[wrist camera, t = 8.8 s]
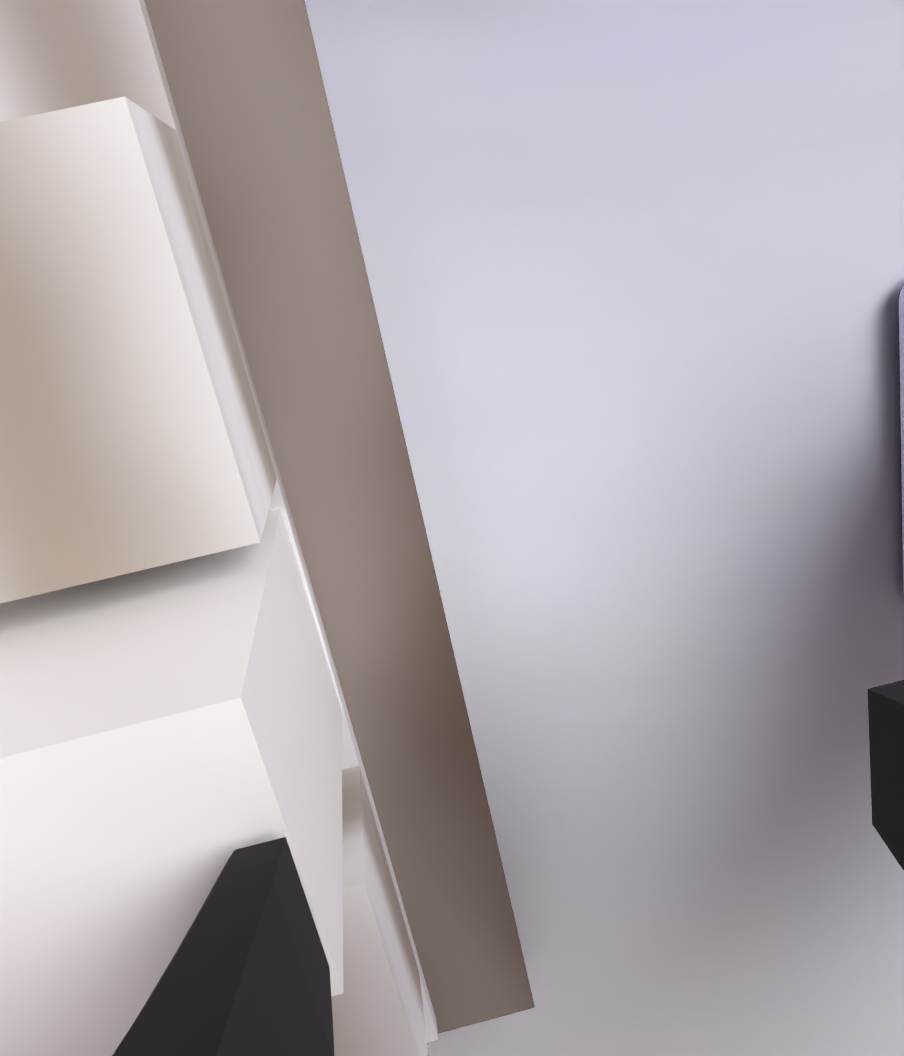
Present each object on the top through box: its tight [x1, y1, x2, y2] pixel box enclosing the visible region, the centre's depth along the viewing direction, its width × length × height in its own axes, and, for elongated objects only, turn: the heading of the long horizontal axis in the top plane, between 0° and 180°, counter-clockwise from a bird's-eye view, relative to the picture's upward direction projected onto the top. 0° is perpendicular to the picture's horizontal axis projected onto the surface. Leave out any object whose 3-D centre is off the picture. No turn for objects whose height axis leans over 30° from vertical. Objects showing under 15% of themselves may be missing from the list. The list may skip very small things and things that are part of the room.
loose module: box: [0, 507, 343, 1056], centre depth 13 cm, size 5×4×7 cm
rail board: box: [0, 0, 534, 1056], centre depth 16 cm, size 10×24×6 cm, turn 11°
